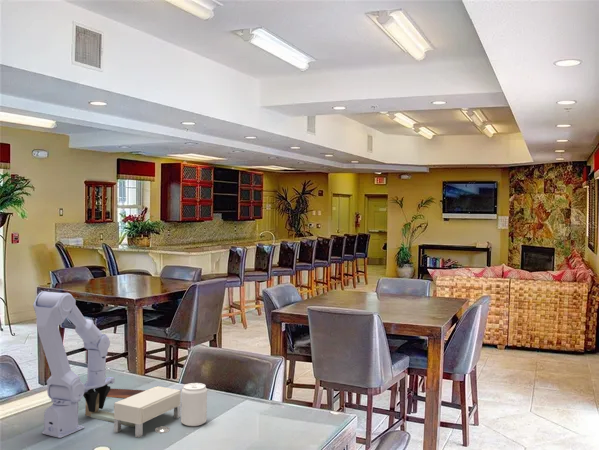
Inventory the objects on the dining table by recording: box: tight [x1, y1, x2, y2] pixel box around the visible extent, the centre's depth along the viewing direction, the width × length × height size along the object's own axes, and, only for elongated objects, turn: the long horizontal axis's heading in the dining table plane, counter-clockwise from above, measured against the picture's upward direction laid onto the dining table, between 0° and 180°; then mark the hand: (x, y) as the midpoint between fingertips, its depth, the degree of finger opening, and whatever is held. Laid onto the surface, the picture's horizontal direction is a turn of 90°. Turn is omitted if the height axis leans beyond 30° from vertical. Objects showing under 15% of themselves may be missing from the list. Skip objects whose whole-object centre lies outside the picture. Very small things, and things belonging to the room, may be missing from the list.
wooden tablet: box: [106, 387, 147, 399], centre depth 208 cm, size 26×2×10 cm
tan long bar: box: [84, 393, 135, 428], centre depth 182 cm, size 4×21×7 cm, turn 64°
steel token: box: [154, 425, 171, 434], centre depth 173 cm, size 4×4×1 cm
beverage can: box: [180, 382, 208, 427], centre depth 180 cm, size 8×8×12 cm
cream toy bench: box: [113, 385, 182, 439], centre depth 178 cm, size 20×10×9 cm, turn 155°
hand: (95, 409), depth 185 cm, fingers closed on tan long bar, 3 cm apart
